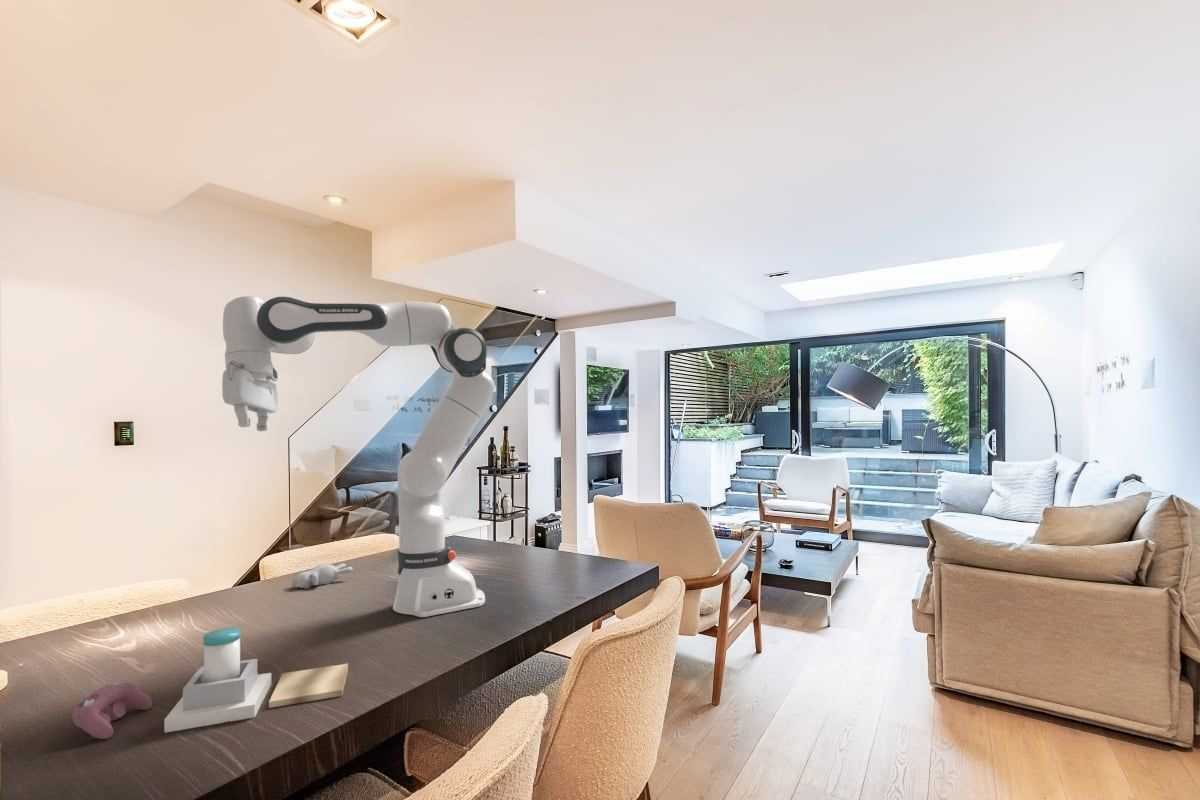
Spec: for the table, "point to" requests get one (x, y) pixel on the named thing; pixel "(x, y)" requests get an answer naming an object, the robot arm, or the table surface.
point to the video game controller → (115, 700)
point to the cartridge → (222, 654)
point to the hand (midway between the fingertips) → (253, 429)
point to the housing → (219, 699)
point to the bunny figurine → (319, 575)
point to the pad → (309, 685)
